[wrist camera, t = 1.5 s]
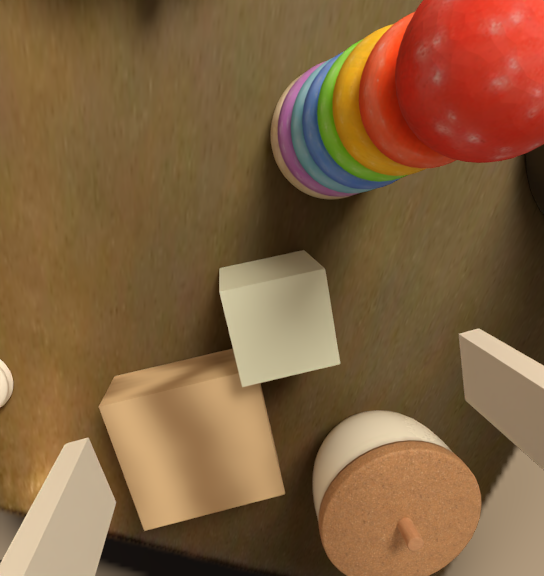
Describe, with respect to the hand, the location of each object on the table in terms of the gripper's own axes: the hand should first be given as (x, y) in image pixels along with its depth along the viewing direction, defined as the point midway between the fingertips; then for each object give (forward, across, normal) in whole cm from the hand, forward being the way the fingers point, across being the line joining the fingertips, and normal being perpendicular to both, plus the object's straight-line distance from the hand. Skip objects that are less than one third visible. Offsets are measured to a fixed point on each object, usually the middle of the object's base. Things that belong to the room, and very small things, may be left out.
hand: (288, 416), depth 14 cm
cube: (+15, -1, +1) cm, 15 cm away
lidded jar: (+15, -6, +15) cm, 22 cm away
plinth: (+15, +6, +9) cm, 19 cm away
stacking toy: (+15, -8, -9) cm, 19 cm away
